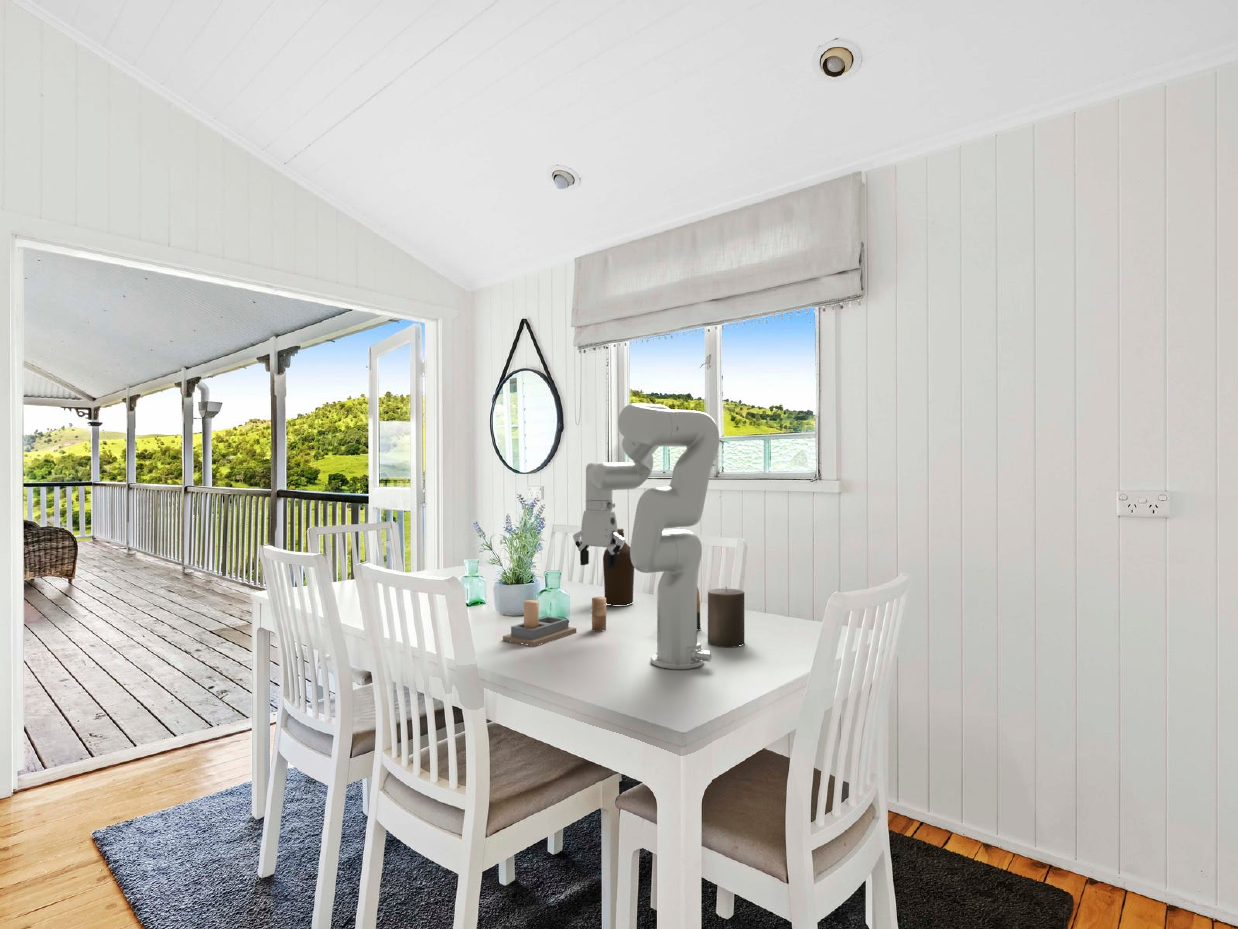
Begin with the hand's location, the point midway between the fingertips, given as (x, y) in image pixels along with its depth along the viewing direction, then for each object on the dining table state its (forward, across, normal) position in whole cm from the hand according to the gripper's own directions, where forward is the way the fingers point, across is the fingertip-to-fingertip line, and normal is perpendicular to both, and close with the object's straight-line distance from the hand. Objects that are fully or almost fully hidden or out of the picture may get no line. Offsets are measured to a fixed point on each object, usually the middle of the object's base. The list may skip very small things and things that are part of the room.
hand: (598, 566), depth 202 cm
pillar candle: (+18, -37, -7) cm, 41 cm away
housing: (+18, +8, +15) cm, 25 cm away
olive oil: (+19, +14, -33) cm, 40 cm away
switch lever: (+18, -1, 0) cm, 18 cm away
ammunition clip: (+18, -20, -14) cm, 30 cm away
